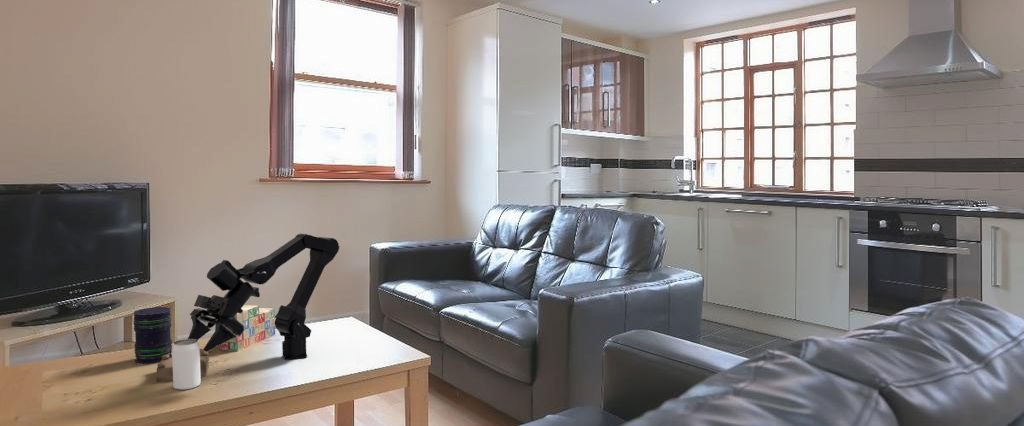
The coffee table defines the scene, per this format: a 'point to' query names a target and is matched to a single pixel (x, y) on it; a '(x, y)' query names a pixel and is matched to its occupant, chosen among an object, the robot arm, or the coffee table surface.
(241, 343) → the stack of blocks
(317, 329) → the coffee table surface
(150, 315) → the storage jar
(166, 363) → the base brick
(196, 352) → the can
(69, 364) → the coffee table surface
